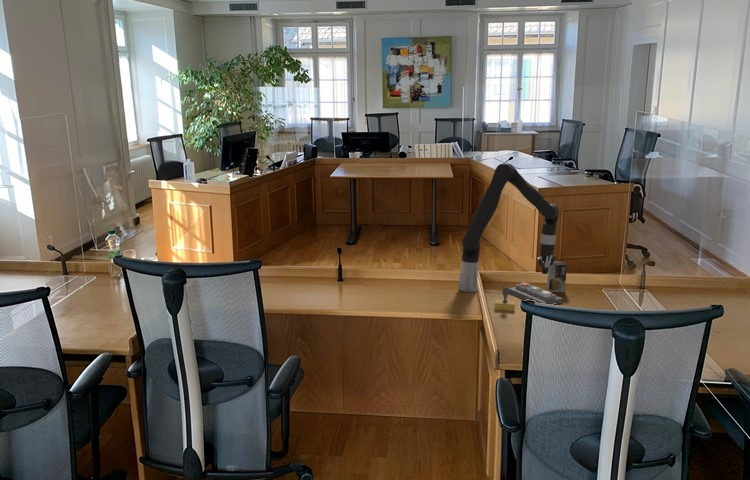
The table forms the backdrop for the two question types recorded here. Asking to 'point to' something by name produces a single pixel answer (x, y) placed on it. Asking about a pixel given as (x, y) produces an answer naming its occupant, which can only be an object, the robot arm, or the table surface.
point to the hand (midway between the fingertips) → (544, 273)
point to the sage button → (535, 289)
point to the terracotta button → (524, 285)
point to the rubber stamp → (505, 302)
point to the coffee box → (557, 277)
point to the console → (534, 295)
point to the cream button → (546, 293)
